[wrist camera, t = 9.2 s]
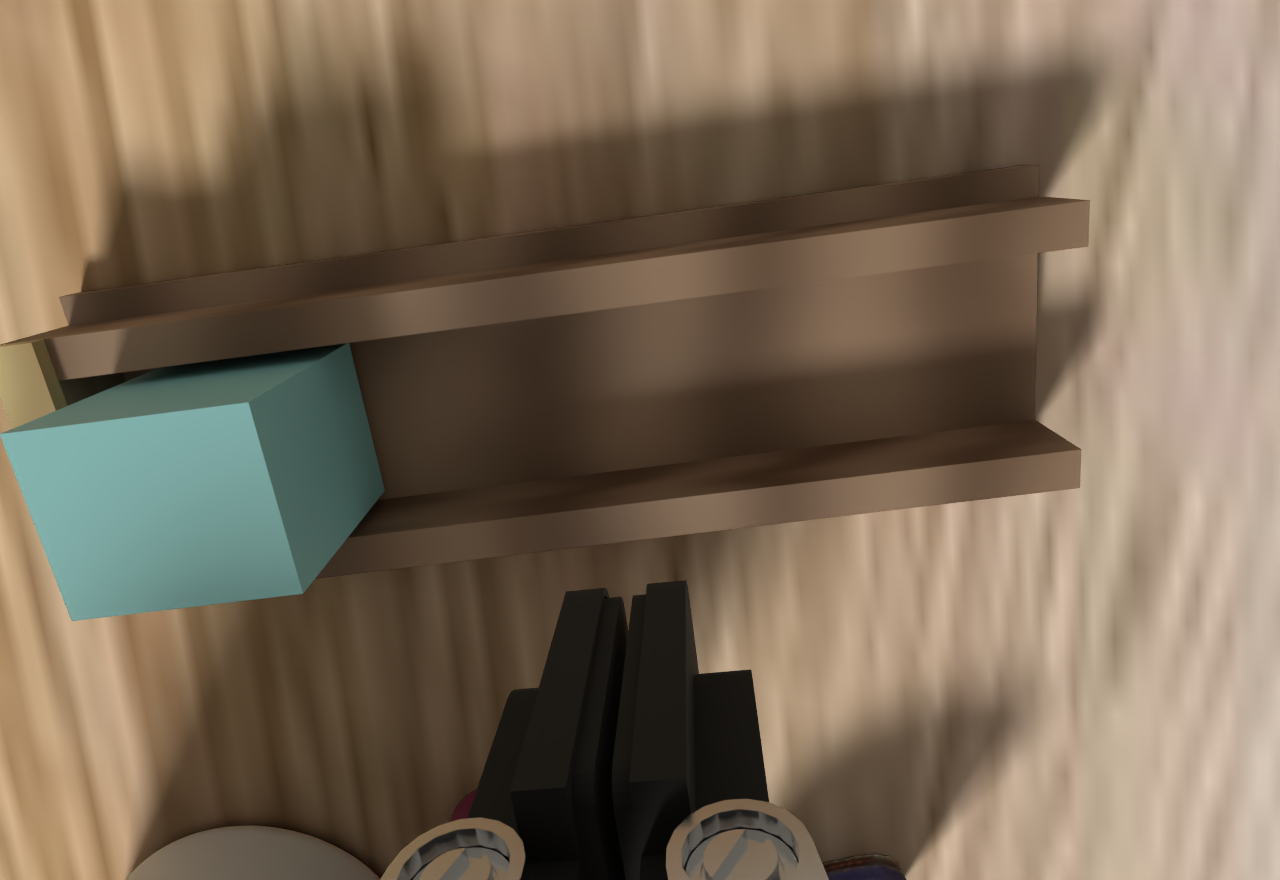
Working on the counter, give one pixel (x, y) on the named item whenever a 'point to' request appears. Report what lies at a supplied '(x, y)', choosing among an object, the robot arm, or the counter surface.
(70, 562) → the block
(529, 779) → the robot arm
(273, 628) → the counter surface
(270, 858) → the cylinder vase
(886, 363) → the chute
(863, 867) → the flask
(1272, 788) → the counter surface
